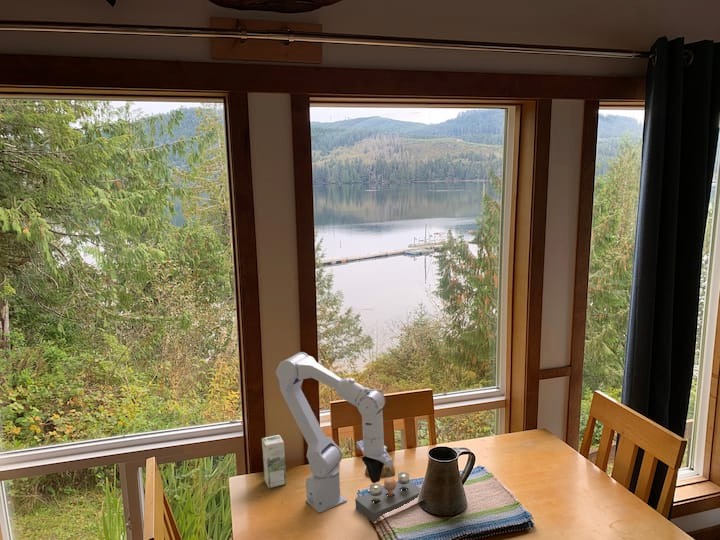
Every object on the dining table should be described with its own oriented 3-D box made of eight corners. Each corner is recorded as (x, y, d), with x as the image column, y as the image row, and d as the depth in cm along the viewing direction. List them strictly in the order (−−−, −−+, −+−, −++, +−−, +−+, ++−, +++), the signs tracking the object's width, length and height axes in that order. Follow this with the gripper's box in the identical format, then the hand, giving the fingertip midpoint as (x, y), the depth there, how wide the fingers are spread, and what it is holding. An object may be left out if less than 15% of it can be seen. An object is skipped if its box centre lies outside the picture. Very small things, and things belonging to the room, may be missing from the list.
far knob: (403, 494, 152) (402, 479, 152) (396, 489, 155) (395, 474, 154) (411, 490, 154) (411, 475, 153) (404, 486, 157) (404, 471, 156)
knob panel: (374, 523, 143) (373, 513, 143) (355, 508, 151) (355, 498, 150) (425, 500, 153) (424, 490, 153) (405, 487, 161) (405, 478, 160)
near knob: (374, 506, 147) (374, 490, 146) (368, 501, 149) (367, 486, 149) (384, 502, 149) (383, 487, 148) (377, 497, 151) (376, 482, 151)
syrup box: (281, 476, 171) (278, 433, 169) (286, 485, 165) (283, 440, 163) (264, 480, 168) (261, 437, 167) (268, 489, 163) (265, 444, 161)
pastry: (368, 480, 166) (368, 469, 166) (362, 470, 173) (362, 459, 172) (396, 475, 168) (396, 464, 168) (390, 465, 175) (389, 454, 174)
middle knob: (389, 500, 150) (388, 484, 149) (382, 495, 152) (381, 480, 152) (398, 496, 151) (397, 481, 151) (391, 491, 154) (390, 476, 153)
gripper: (401, 439, 143) (402, 487, 144) (369, 422, 155) (371, 466, 156) (379, 447, 139) (381, 496, 140) (349, 429, 151) (351, 474, 152)
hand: (375, 481), depth 148 cm, fingers closed
